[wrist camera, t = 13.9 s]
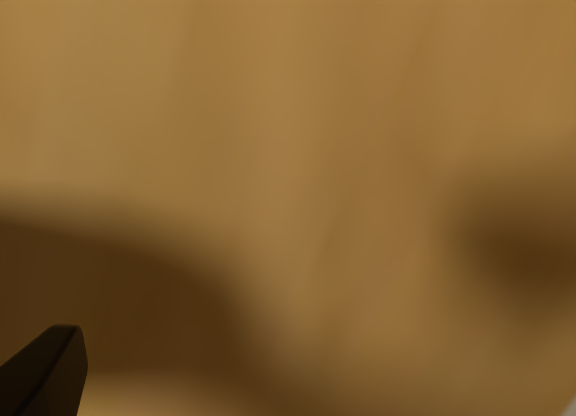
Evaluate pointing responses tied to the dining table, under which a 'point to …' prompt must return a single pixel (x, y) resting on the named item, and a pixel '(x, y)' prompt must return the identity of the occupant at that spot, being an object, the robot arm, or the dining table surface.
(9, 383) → the robot arm
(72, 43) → the dining table surface
